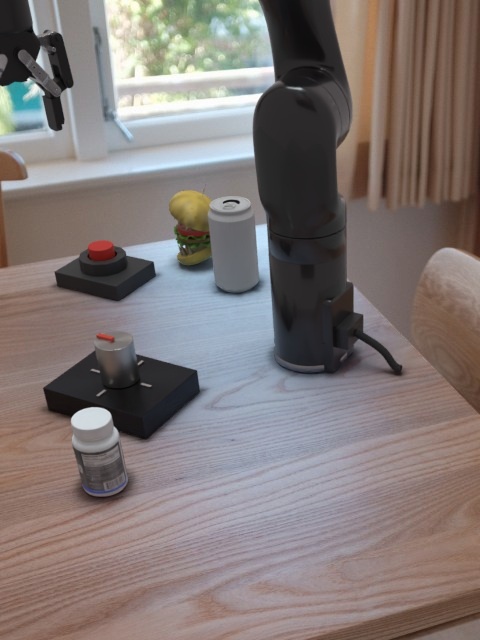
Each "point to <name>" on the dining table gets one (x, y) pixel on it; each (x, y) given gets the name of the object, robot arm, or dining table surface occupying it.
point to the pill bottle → (98, 452)
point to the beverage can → (233, 243)
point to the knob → (117, 359)
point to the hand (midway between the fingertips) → (23, 137)
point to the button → (101, 250)
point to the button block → (106, 274)
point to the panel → (125, 394)
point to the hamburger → (191, 226)
